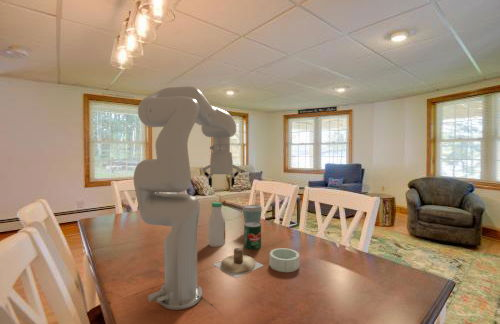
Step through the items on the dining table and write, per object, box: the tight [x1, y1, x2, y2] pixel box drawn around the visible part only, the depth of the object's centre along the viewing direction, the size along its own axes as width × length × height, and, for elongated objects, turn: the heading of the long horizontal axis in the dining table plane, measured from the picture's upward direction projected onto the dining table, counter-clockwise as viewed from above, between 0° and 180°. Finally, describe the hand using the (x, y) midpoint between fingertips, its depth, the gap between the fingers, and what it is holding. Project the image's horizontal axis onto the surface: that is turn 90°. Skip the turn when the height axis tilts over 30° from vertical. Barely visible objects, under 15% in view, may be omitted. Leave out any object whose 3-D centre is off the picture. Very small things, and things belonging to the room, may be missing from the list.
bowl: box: [269, 247, 300, 273], centre depth 97 cm, size 11×11×5 cm
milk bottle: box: [208, 201, 226, 248], centre depth 119 cm, size 8×8×20 cm
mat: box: [212, 260, 265, 279], centre depth 98 cm, size 14×14×1 cm
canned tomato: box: [243, 222, 262, 251], centre depth 116 cm, size 8×8×11 cm
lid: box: [220, 247, 256, 273], centre depth 97 cm, size 13×13×6 cm
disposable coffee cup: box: [242, 204, 263, 224], centre depth 137 cm, size 11×11×15 cm
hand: (221, 186), depth 115 cm, fingers open, 9 cm apart
